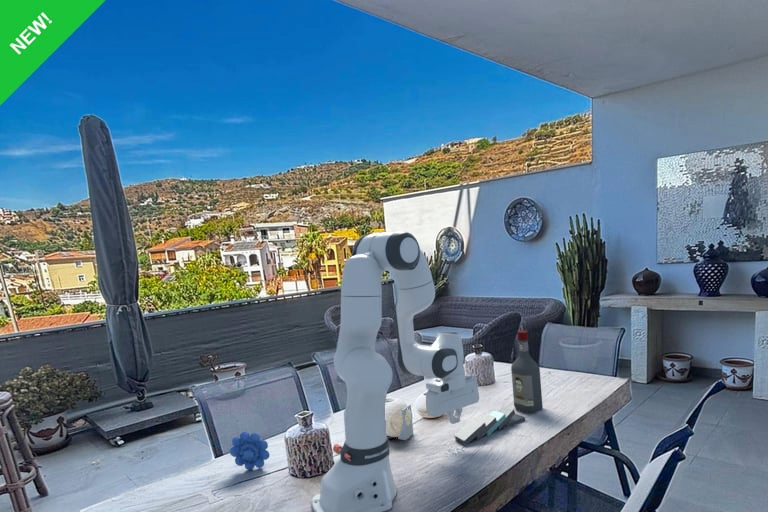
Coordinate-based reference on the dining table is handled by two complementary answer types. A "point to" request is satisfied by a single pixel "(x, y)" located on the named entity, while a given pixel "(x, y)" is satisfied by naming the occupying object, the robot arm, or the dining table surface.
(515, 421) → the domino
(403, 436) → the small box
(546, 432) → the dining table surface
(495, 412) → the domino
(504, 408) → the domino
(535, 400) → the liquor
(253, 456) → the blue flower
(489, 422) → the domino
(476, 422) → the domino
